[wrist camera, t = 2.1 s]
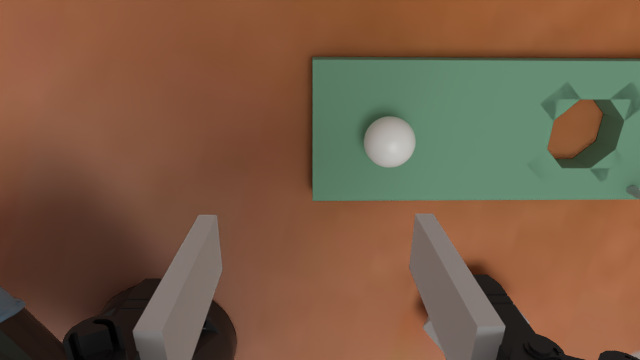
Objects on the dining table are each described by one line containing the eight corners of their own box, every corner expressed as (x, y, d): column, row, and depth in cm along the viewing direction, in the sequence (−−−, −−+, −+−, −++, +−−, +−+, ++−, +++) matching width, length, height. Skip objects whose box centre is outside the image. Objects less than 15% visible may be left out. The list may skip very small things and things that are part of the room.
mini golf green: (312, 189, 37) (314, 281, 24) (312, 56, 32) (314, 81, 19) (622, 188, 38) (787, 276, 25) (665, 58, 33) (895, 83, 20)
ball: (359, 158, 33) (366, 175, 29) (362, 111, 32) (369, 123, 28) (406, 157, 33) (418, 175, 29) (410, 111, 32) (424, 123, 28)
